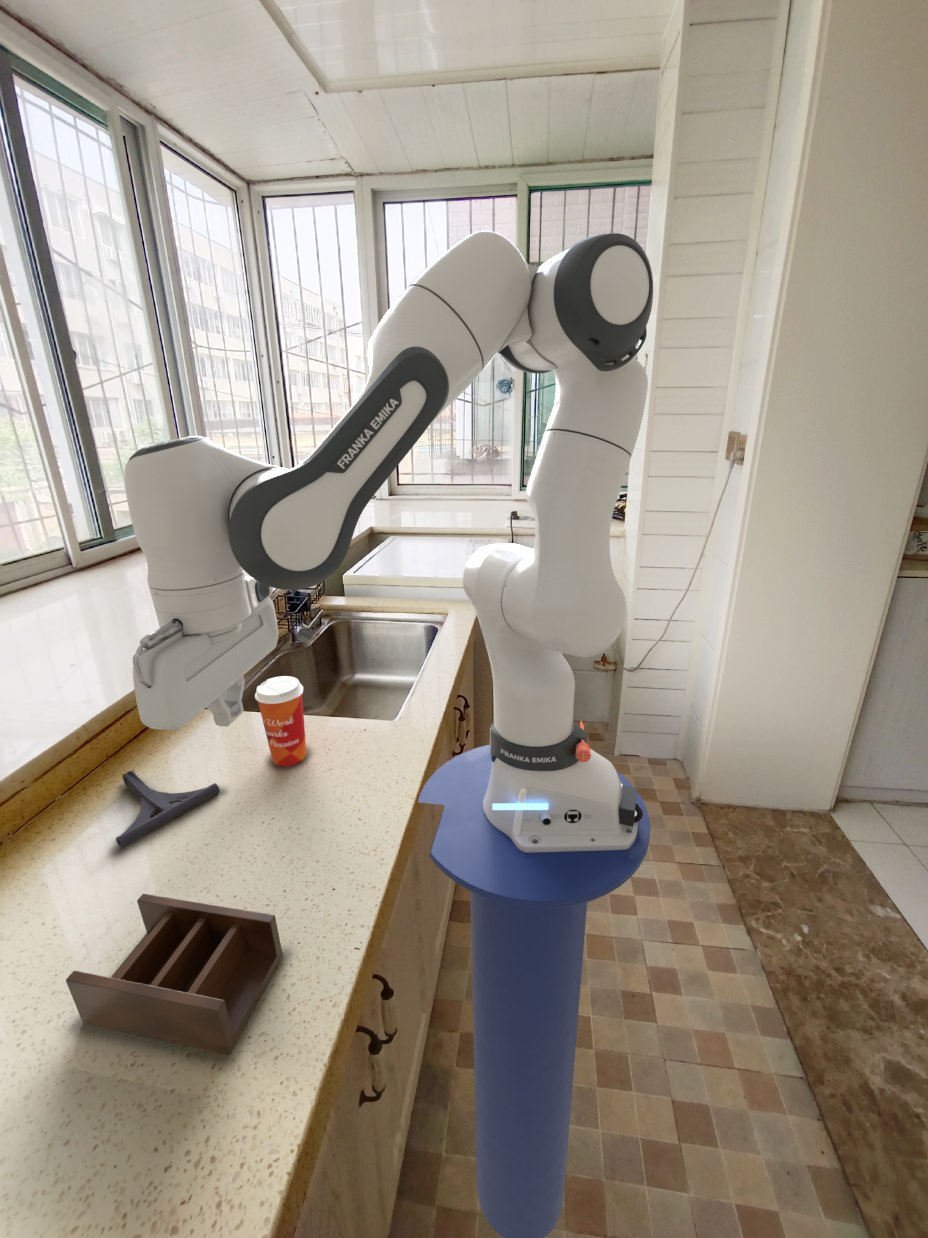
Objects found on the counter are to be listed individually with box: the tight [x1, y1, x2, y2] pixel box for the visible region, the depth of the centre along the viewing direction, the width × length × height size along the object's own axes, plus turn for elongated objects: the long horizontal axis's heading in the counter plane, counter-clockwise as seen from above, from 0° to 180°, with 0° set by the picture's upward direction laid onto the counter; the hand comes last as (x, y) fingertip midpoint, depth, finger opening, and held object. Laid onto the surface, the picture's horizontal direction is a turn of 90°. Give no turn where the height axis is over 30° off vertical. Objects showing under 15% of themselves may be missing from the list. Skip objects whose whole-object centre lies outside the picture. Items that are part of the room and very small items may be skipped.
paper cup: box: [254, 675, 307, 767], centre depth 91 cm, size 8×8×14 cm
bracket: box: [115, 769, 220, 849], centre depth 83 cm, size 14×15×3 cm
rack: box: [65, 893, 284, 1056], centre depth 55 cm, size 16×10×6 cm, turn 79°
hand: (230, 719), depth 61 cm, fingers closed
